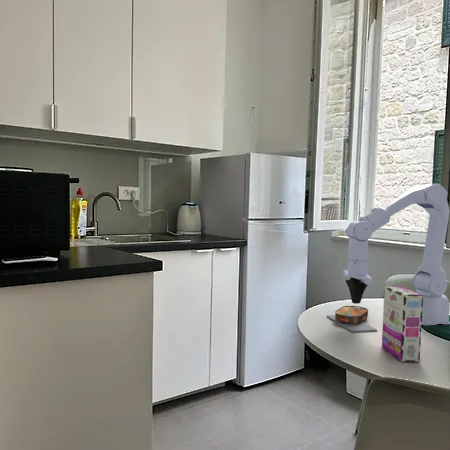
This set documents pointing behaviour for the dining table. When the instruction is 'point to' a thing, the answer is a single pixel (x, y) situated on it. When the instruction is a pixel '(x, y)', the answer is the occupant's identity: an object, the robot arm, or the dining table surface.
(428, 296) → the robot arm
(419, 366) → the dining table surface
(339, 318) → the tin
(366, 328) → the pad
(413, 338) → the candy bar box
